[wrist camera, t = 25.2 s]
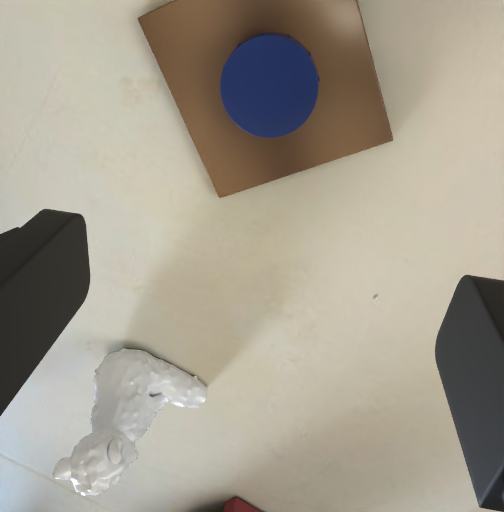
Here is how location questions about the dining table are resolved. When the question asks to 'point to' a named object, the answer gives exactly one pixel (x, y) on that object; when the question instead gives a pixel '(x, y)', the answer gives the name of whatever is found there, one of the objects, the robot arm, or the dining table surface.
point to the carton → (238, 506)
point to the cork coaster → (217, 53)
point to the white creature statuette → (125, 415)
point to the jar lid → (269, 85)
